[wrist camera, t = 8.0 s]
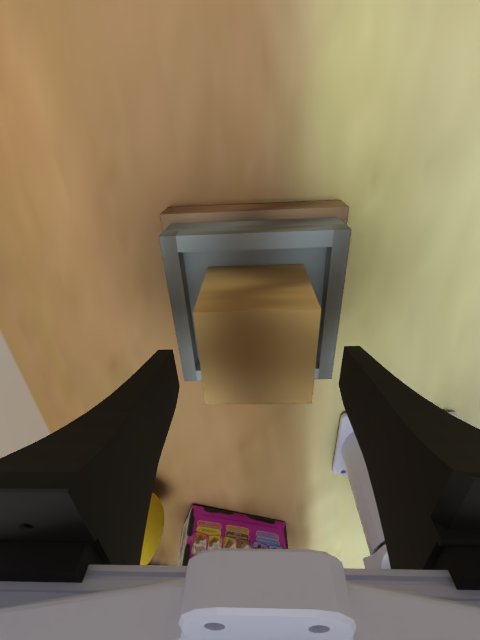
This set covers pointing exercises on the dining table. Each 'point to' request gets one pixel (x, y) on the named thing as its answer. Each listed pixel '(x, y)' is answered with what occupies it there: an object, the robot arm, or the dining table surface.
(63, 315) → the dining table surface
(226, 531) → the candy bar box
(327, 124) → the dining table surface
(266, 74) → the dining table surface
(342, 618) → the robot arm
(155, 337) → the dining table surface
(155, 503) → the lemon
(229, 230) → the grey storage bin
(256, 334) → the wooden block
